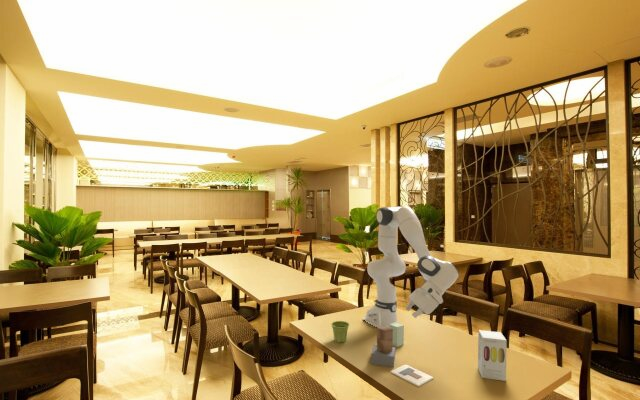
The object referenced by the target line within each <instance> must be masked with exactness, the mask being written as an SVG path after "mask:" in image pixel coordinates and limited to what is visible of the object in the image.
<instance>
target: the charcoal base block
mask: <svg viewBox="0 0 640 400" xmlns="http://www.w3.org/2000/svg"><path fill="white" fill-rule="evenodd" d="M372 346H373V347H372V349H371V353H370V365H374V366H375V365H376V366H381V365H382V366H383V367H388V366H391V367H390V368H395V363H394V362H396V361H395V360H396V346H392V351H391V352H388V353H383V352H381V351H379V350H377V344H373V345H372Z"/></svg>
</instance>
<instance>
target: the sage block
mask: <svg viewBox="0 0 640 400" xmlns="http://www.w3.org/2000/svg"><path fill="white" fill-rule="evenodd" d="M390 328H392V329H393V345H392V347H395V348H399V347H401V346H403V345H404V344H405V343H404V335H405V334H404V333H405V331H404V329H405V328H404V324H401V323H399V322H398V323H396V322H395V323H392V324H390Z"/></svg>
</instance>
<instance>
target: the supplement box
mask: <svg viewBox="0 0 640 400" xmlns="http://www.w3.org/2000/svg"><path fill="white" fill-rule="evenodd" d="M477 337H478V342H477V344H478V345H477V346H478V347H477V352H478V353H477V369H478V372H479V374H480V376H481V378H483V379H489V380H498V381H503V382H506V381H507V350H508V349H507V342H508V341H507V339H506V337H505V336H504V335H503V333H502V332H500V331H491V330H481V329H479V330H478V336H477Z"/></svg>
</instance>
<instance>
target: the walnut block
mask: <svg viewBox="0 0 640 400" xmlns="http://www.w3.org/2000/svg"><path fill="white" fill-rule="evenodd" d="M376 330H377V331H376V345H377V350H379V351H381V352H383V353H388V352H391V351H392V347H393V329H392V328H389V327H387V326H382V327H377V328H376Z"/></svg>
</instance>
